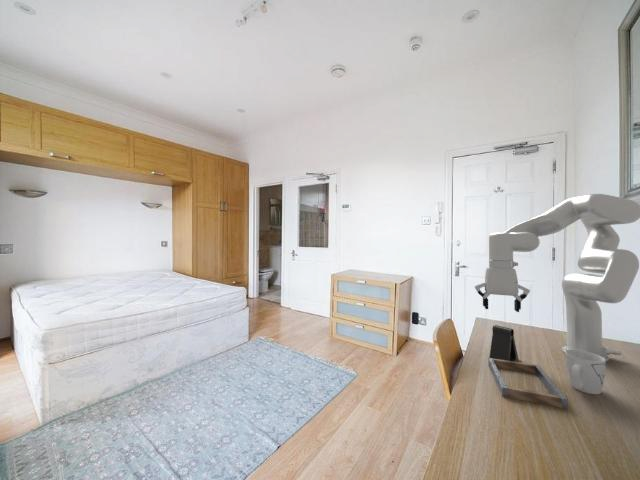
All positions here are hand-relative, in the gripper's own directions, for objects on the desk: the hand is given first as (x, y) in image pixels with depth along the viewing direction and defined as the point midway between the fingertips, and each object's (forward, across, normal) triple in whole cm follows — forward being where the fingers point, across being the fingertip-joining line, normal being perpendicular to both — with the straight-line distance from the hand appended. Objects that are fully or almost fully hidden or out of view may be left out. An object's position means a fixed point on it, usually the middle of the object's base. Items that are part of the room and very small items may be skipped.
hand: (501, 309), depth 96 cm
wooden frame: (+19, -2, +18) cm, 26 cm away
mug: (+19, -17, +15) cm, 29 cm away
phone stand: (+19, -1, 0) cm, 19 cm away
